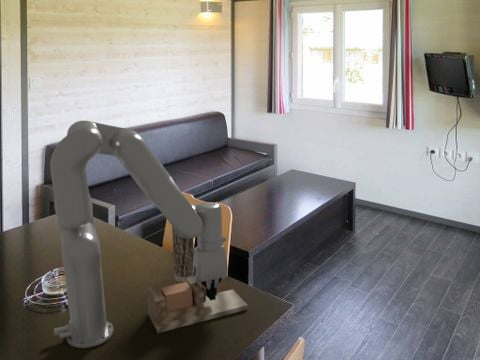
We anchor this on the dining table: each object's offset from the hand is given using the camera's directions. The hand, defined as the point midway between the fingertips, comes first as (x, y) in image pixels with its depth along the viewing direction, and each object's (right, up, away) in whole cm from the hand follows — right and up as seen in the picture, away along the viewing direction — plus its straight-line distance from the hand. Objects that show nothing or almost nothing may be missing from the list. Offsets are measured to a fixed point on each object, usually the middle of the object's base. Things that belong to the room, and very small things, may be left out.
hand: (211, 298), depth 141 cm
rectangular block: (-10, -3, -4) cm, 11 cm away
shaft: (-9, -2, -4) cm, 11 cm away
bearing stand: (-4, -4, -1) cm, 6 cm away
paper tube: (-10, 0, +14) cm, 17 cm away
